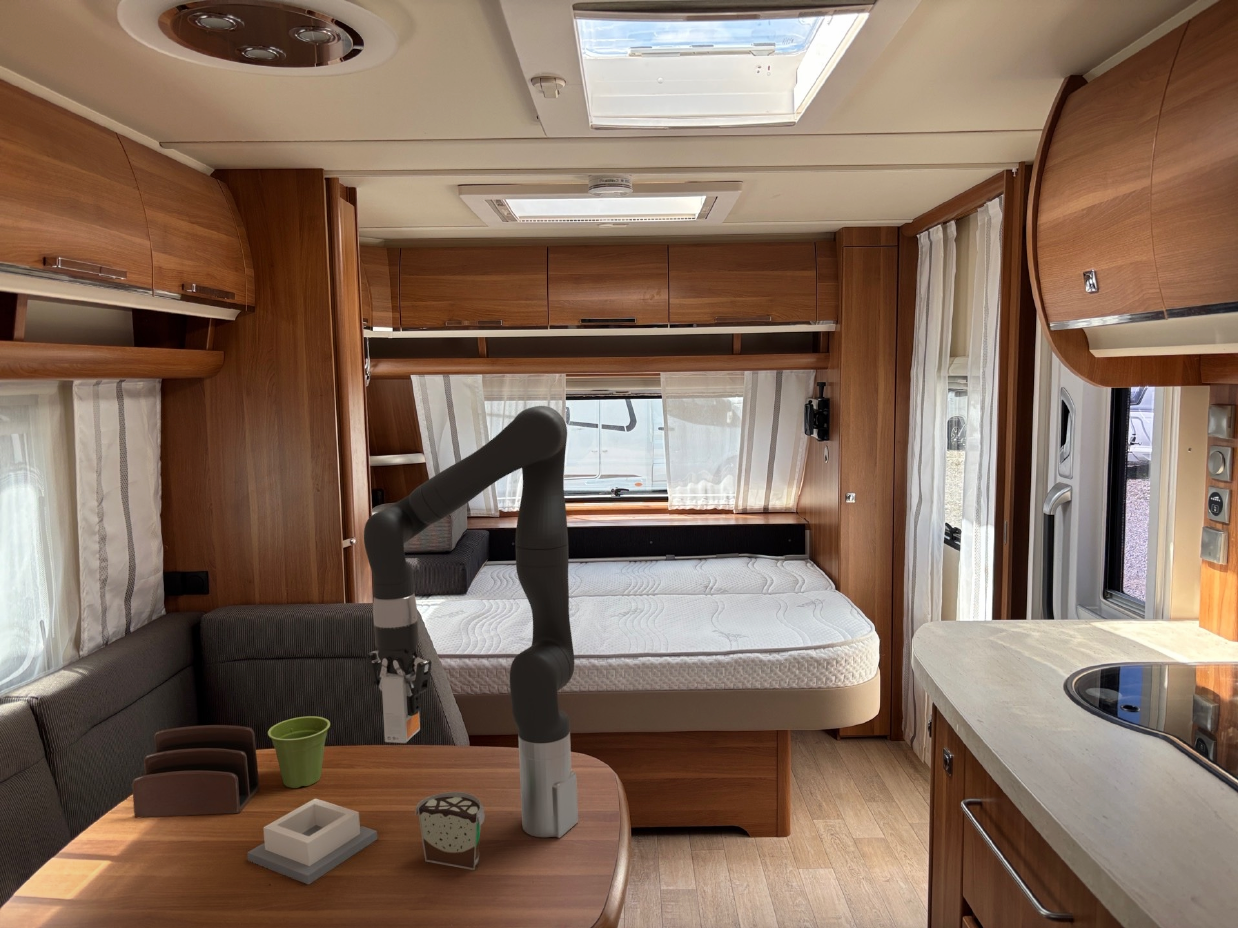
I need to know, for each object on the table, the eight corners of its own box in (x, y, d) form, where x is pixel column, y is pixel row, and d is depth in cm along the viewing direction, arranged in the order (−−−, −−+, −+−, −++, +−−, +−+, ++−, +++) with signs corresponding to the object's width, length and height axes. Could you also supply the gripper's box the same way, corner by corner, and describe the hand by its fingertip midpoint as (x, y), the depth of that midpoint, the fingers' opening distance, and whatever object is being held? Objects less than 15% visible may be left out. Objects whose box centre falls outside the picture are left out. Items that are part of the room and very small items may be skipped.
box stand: (377, 838, 148) (375, 809, 148) (308, 884, 135) (306, 852, 135) (318, 819, 156) (316, 790, 155) (247, 860, 143) (245, 829, 142)
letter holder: (161, 793, 168) (155, 725, 167) (260, 789, 169) (255, 721, 167) (133, 819, 158) (126, 747, 157) (239, 814, 159) (233, 743, 157)
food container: (500, 851, 143) (497, 795, 142) (482, 871, 138) (479, 813, 137) (437, 840, 147) (433, 786, 146) (417, 859, 142) (414, 803, 141)
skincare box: (406, 743, 148) (402, 678, 147) (384, 742, 149) (380, 677, 148) (421, 729, 154) (417, 666, 153) (400, 728, 155) (396, 665, 154)
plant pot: (321, 793, 166) (317, 738, 164) (261, 795, 166) (257, 740, 165) (341, 766, 177) (338, 714, 176) (286, 767, 178) (282, 716, 176)
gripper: (440, 618, 149) (446, 710, 151) (381, 609, 156) (387, 698, 158) (411, 630, 142) (416, 726, 144) (350, 620, 150) (357, 712, 151)
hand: (401, 711), depth 151 cm, fingers closed on skincare box, 5 cm apart
